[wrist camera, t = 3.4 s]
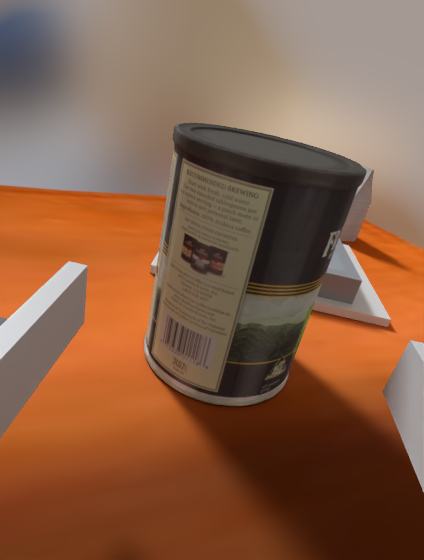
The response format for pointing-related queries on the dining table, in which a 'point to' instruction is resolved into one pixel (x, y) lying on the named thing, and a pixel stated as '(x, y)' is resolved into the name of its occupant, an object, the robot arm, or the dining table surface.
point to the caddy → (344, 290)
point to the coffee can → (242, 259)
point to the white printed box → (358, 209)
